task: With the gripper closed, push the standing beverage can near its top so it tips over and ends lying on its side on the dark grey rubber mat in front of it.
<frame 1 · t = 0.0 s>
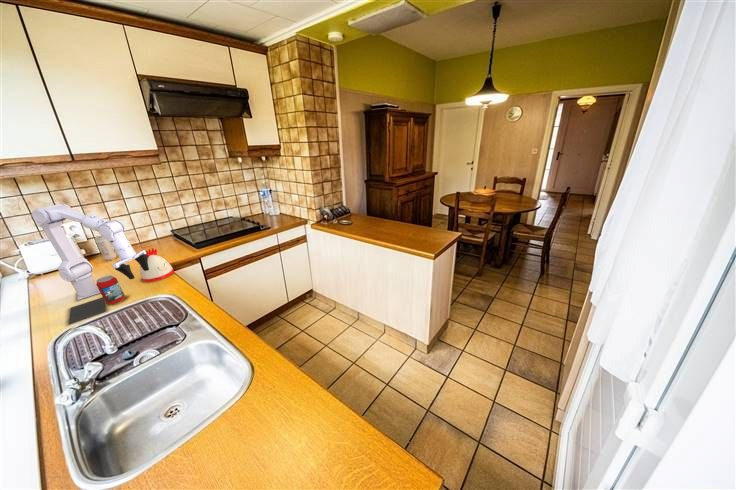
hand: (139, 274, 122), 11 cm above the worktop, tool pointing down, fingers open, 7 cm apart
rubber mat: (88, 310, 116), on the worktop
beverage can: (116, 301, 121), on the worktop
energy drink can: (111, 259, 168), on the worktop
kitchen timer: (158, 275, 143), on the worktop
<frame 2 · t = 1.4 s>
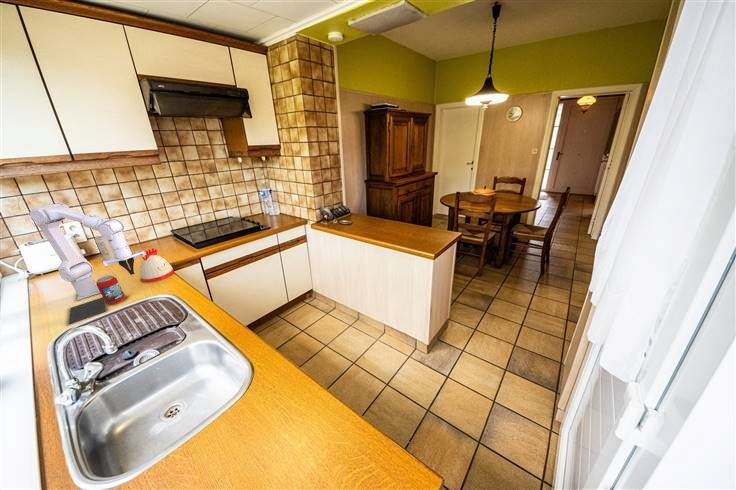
hand: (132, 273, 123), 10 cm above the worktop, tool pointing down, fingers closed
nothing on the worktop moved.
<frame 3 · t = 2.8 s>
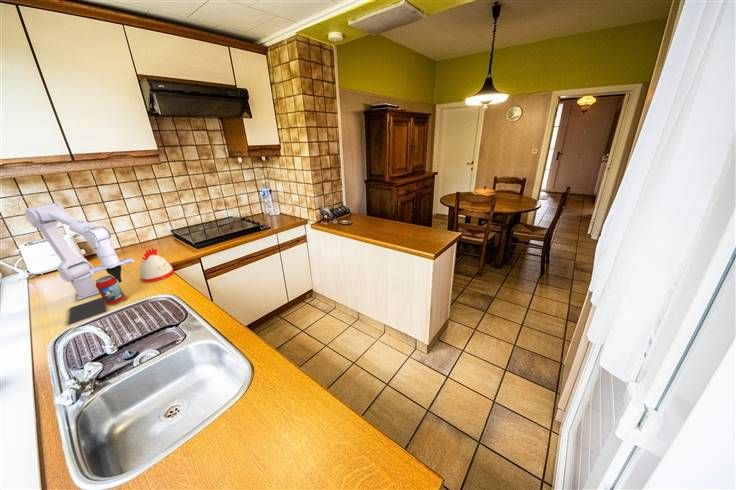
hand: (120, 281, 120), 9 cm above the worktop, tool pointing down, fingers closed
beverage can: (116, 301, 121), on the worktop, touching gripper
everything else where it was.
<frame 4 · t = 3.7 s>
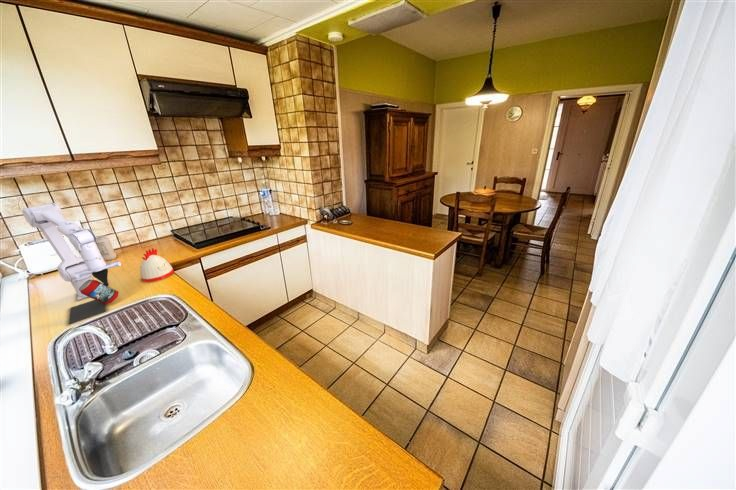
hand: (107, 285, 117), 9 cm above the worktop, tool pointing down, fingers closed, pressing on beverage can
beverage can: (114, 298, 120), point 1 cm above the worktop, touching gripper
everything else where it was.
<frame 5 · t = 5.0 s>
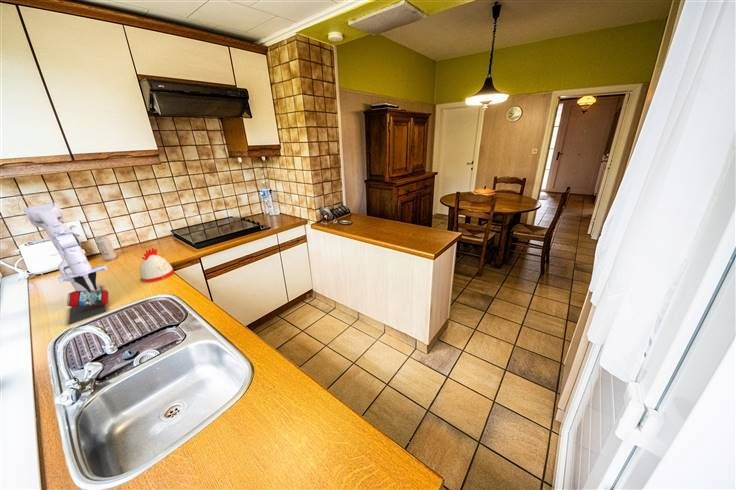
hand: (92, 289, 115), 9 cm above the worktop, tool pointing down, fingers closed
beverage can: (108, 297, 119), point 3 cm above the worktop, touching gripper, rubber mat
everything else where it was.
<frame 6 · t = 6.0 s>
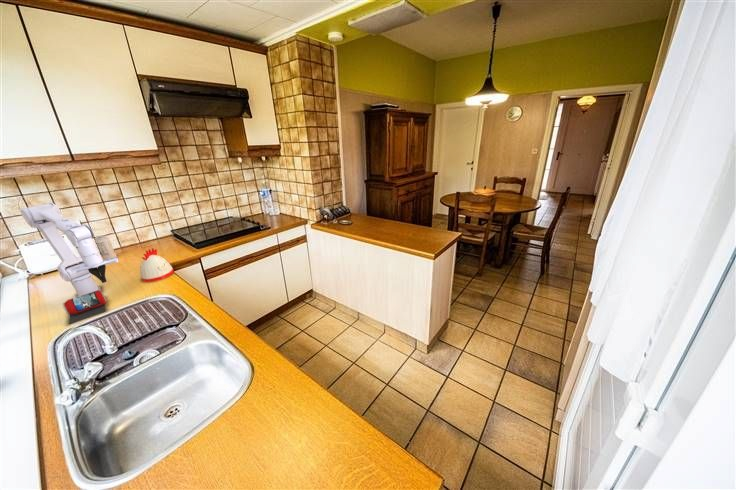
hand: (104, 281, 117), 10 cm above the worktop, tool pointing down, fingers closed
beverage can: (104, 295, 119), point 4 cm above the worktop, touching rubber mat
everything else where it was.
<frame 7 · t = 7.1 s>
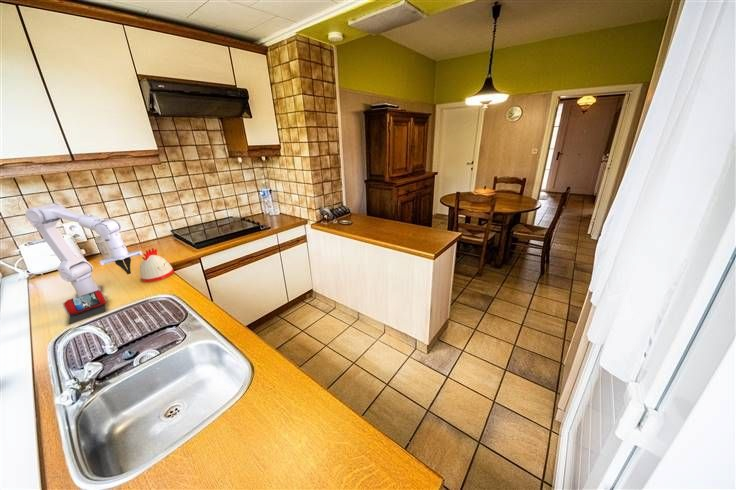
hand: (129, 273, 124), 10 cm above the worktop, tool pointing down, fingers closed
nothing on the worktop moved.
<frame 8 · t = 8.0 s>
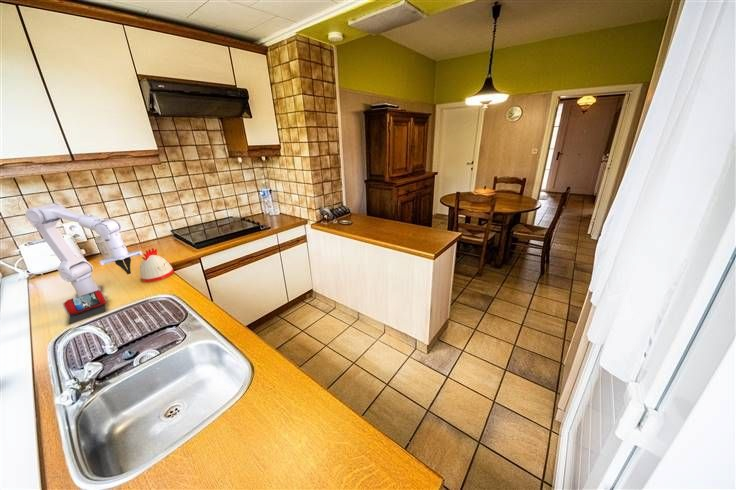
hand: (129, 273, 124), 10 cm above the worktop, tool pointing down, fingers closed
nothing on the worktop moved.
at the end: beverage can tilted 90°; beverage can inside the target area (4.9 cm from its centre), point 3.8 cm above the worktop; the gripper is holding nothing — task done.
